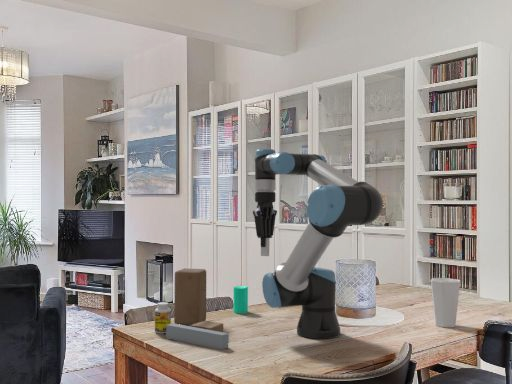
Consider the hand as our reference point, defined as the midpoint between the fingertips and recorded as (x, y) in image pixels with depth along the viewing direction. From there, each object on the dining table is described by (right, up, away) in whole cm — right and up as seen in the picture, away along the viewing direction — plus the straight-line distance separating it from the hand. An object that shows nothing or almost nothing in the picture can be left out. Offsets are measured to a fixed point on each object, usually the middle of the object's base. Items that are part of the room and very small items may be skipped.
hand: (265, 255), depth 199 cm
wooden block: (-28, -27, +8) cm, 40 cm away
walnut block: (-20, -26, -16) cm, 36 cm away
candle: (-10, -27, +28) cm, 40 cm away
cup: (+68, -27, +5) cm, 73 cm away
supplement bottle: (-36, -26, -7) cm, 45 cm away
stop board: (-23, -26, -21) cm, 41 cm away
